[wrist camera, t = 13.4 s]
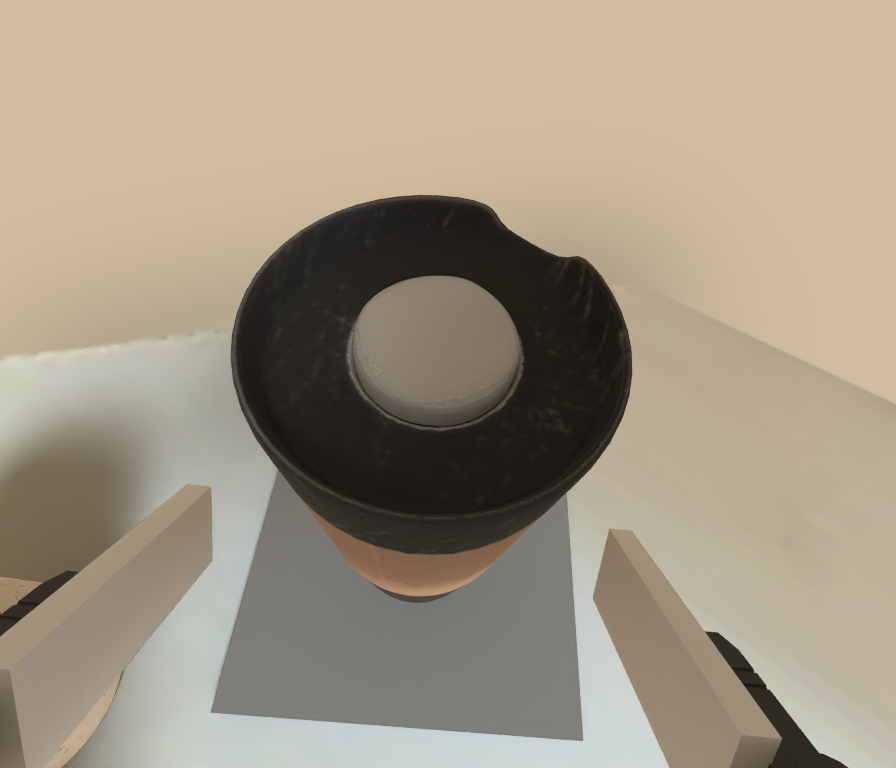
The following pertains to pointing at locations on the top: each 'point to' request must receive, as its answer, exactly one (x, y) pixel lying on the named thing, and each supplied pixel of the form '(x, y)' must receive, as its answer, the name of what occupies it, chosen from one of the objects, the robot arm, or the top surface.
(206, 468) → the top surface
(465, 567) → the travel mug
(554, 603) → the pad
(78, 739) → the teacup with lid
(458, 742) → the top surface
